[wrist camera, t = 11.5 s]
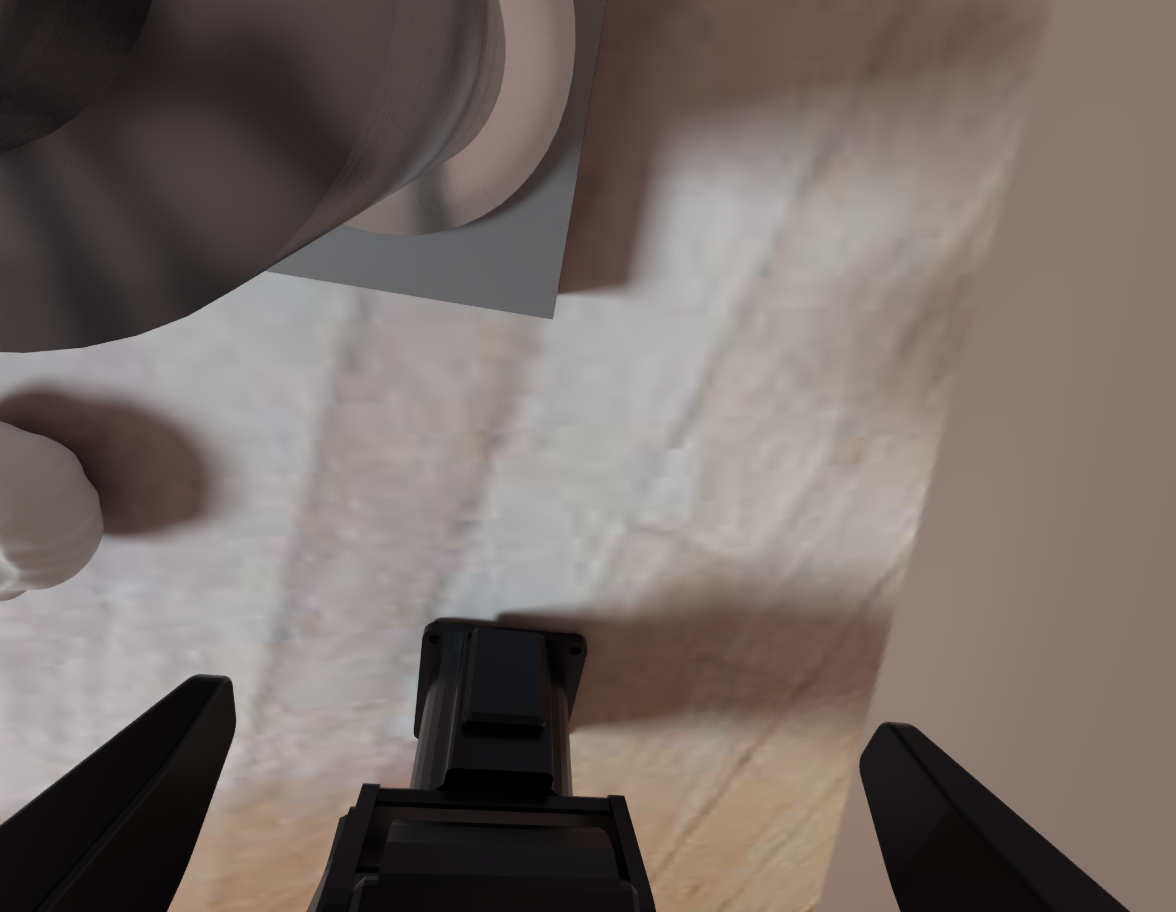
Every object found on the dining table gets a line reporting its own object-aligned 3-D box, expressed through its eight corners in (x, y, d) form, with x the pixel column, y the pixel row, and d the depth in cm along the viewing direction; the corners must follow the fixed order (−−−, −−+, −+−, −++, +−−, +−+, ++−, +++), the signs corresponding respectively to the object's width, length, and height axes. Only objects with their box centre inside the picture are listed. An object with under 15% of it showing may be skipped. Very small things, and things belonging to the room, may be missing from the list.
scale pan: (542, 258, 16) (542, 263, 15) (202, 196, 15) (190, 199, 14) (607, -160, 12) (611, -173, 12) (159, -292, 11) (139, -313, 10)
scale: (550, 294, 19) (558, 383, 13) (151, 225, 17) (-64, 289, 11) (632, -200, 14) (711, -454, 8) (75, -372, 12) (-405, -878, 6)
